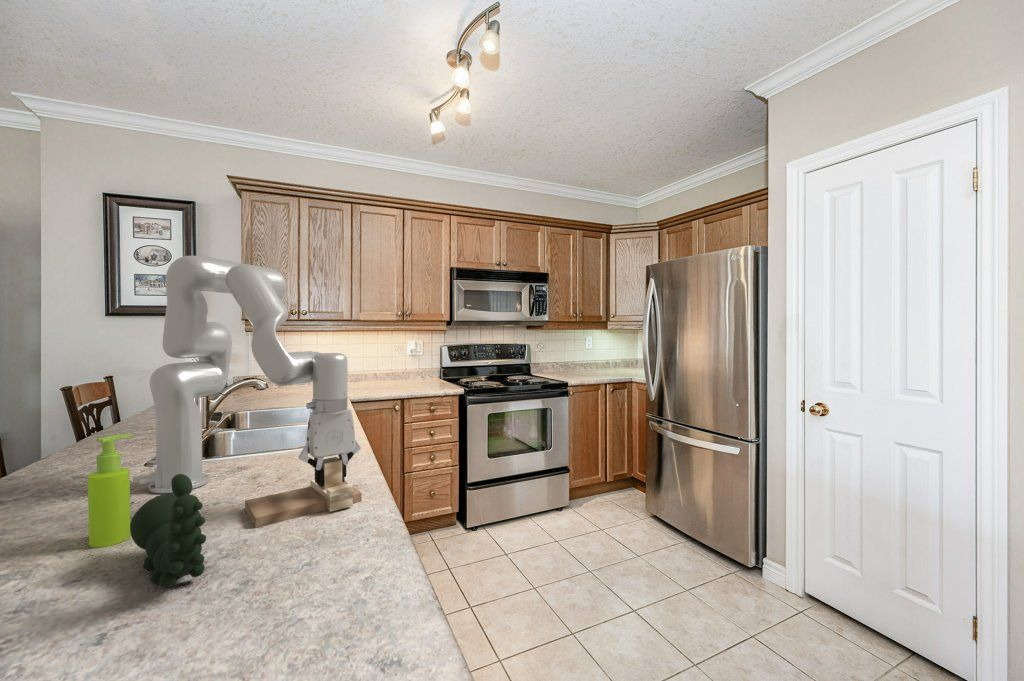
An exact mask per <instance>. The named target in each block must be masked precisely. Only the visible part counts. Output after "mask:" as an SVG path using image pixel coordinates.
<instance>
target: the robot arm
mask: <svg viewBox="0 0 1024 681" xmlns="http://www.w3.org/2000/svg"><path fill="white" fill-rule="evenodd" d="M165 291H166V308H165V315H164V326H163V334H162V349H163V352H164V353H165V354H166V356H169V357H171V358H174V359H195V358H196V359H197V358H198V359H197V360H198V361H188V362H187V361H185V362H174V363H169V364H165V365H161V366H159V367H158V368H156V369H155V370H154V371H153V372H152V374H151V375H150V376H149V377H150V378H149V389H150V392H151V396H152V400H153V403H154V404H153V406H154V412H155V416H154V417H155V455H156V456H155V459H156V460H155V462H156V464H155V465H156V468H154V471H152V472H149V473H148V474H144V475H143V474H141V475H134V476H132V485H138V484H139V486H142V485H147V484H149V485H148V491H149V492H151V493H153V494H174V493H173V491H172V485H171V480H172V478H173V477H174V476H176V475H178V474H184V475H186V476H188V477H189V478H190V480H191V482H192V486H193V487H192V490H194V489H196V488H197V489H198V488H199V487H202V486H204V485H206V484H207V483H209V481H210V479H211V477H210V474H208V473H206V472H205V473H204V472H203V421H202V420H203V419H202V418H203V416H202V412H201V410H200V407H198V404H197V403H196V401H194V399H196V398H200V397H207V396H212V395H216V394H218V393H220V392H222V391H223V390H224V388H225V387H226V385H227V383H228V378H229V373H230V371H229V370H230V363H231V357H232V356H231V355H232V350H233V349H232V348H233V339H232V335H231V333H230V331H229V329H228V328H227V327H226V326H225V325H224V324H222V323H220V322H215V321H208V320H207V317H208V311H209V310H208V309H209V307H208V303H207V300H206V297H205V296H204V294H203V293H202V292H213V293H222V294H231V295H232V297H233V299H234V300H235V302H236V303H237V304H238V306H239V307H240V309H241V311H242V312H243V313H244V315H245V316H246V319H247V320H248V321H249V323H250V324H251V326H252V333H251V337H250V339H251V340H250V342H251V351H252V355H253V357H254V360H255V361H256V363H257V364H258V366H259V368H260V370H261V371H262V372H263V374H264V375H265V377H267V379H268V380H269V381H270V382H272V383H273V384H275V385H277V386H279V387H280V386H281V387H288V386H289V387H290V386H293V385H301V384H307V383H312V399H311V401H310V402H307V403H306V406H305V407H306V410H308V409H309V410H311V411H312V412H311V411H310V412H309V417H308V423H307V429H306V438H305V439H306V440H305V442H306V443H305V445H304V447H303V448H302V450H301V452H300V453H299V455H298V458H297V459H299V460H300V461H302V462H304V463H307V464H309V465H310V466H311V467H312V468H314V479H315V482H316V483H317V484H318V485H319V486H320V487H323V486H324V470H323V469H322V463H323V459H325V458H327V457H328V458H329V457H334V456H337V457H338V458H339V459H341V460H342V482H345V481H346V477H347V465H348V464H349V462H350V460H351V459H352V458H353V457H354V455H355V454H357V453H358V452H360V450H361V446H360V445H359V443H358V442H357V440H356V434H355V433H356V431H355V424H354V417H353V412H352V409H349V408H348V357H347V355H345V354H344V353H339V352H324V353H323V352H318V351H291V352H287V351H286V349H285V347H284V346H283V344H282V343H281V341H280V339H279V338H278V335H277V332H276V331H277V330H276V329H278V328H279V327H280V326H283V324H284V323H285V322H286V321H287V320H288V317H289V314H290V313H289V311H288V310H289V309H288V308H287V307H286V306H285V304H284V303H283V301H282V300H281V299H282V298H283V297H284V296H285V293H286V292H287V281H286V279H285V277H284V275H282V273H280V272H279V271H278V270H276V269H274V268H271V267H264V266H260V265H254V264H246V263H241V262H237V261H233V260H226V259H220V258H216V257H209V256H204V255H184V256H181V257H178V258H176V259H175V260H174V261H173V262H172V263H170V265H169V266H168V269H167V271H166V274H165ZM308 455H310V456H311V457H310V456H308ZM312 457H313V458H312Z"/></svg>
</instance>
